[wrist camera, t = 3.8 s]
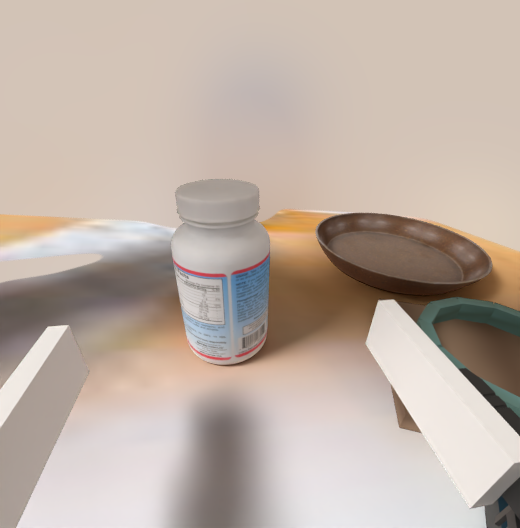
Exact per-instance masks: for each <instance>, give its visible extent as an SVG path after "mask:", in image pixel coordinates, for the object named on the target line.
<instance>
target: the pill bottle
mask: <svg viewBox="0 0 520 528" xmlns="http://www.w3.org/2000/svg"><path fill="white" fill-rule="evenodd" d="M175 196H176V203H177V213H178V214H179V218H180V219H181V220H182V221H183V222H184V223H183V224H182V225H181V226H180V227H179V228H178V229H177V230H176V231H175V233H174V235H173V237H172V240H171V252H172V258H173V264H174V269H175V275H176V281H177V287H178V292H179V298H180V303H181V309H182V315H183V320H184V325H185V330H186V336H187V340H188V343H189V346H190V348H191V349H192V351H193V352H194V353H195V355H197V356H198V357H199V358H200V359H202V360H204V361H206V362H209V363H213V364H219V365H228V364H235V363H239V362H242V361H244V360H247V359H249V358H250V357H252V356H253V355H255V354H256V353H257V352H258V351H259V350H260V349H261V348H262V346H263V345H264V343H265V341H266V337H267V329H268V298H269V296H268V295H269V265H270V239H269V235H268V232H267V231H266V229H265V228H264V227H263V225H262V224H260V223H259V222H258V221H256V220H254V219H255V218H256V217H257V215H258V211H259V209H260V206H259V188H258V187H257V186H256V185H254V184H252V183H249V182H245V181H240V180H231V179H209V180H200V181H195V182H191V183H187V184H184V185H182V186H180V187H178V188H177V190H176V192H175Z"/></svg>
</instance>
